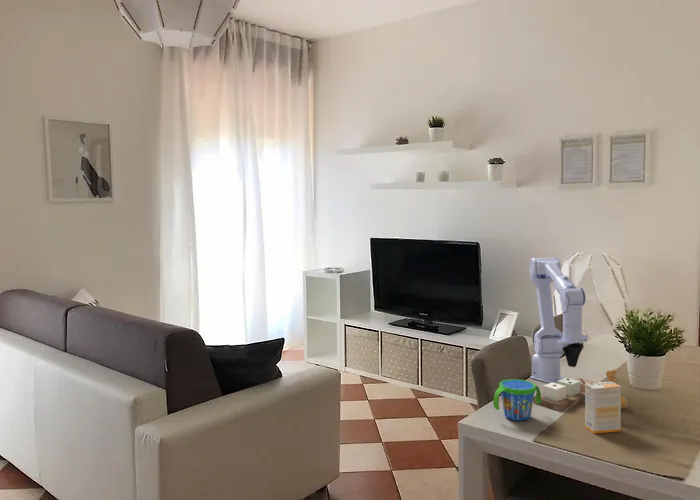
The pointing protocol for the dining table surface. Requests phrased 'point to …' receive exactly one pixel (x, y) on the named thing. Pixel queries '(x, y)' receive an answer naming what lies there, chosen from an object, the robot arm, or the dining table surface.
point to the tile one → (554, 391)
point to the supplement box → (602, 407)
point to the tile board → (562, 401)
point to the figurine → (612, 379)
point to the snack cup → (517, 398)
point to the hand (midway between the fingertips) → (572, 366)
